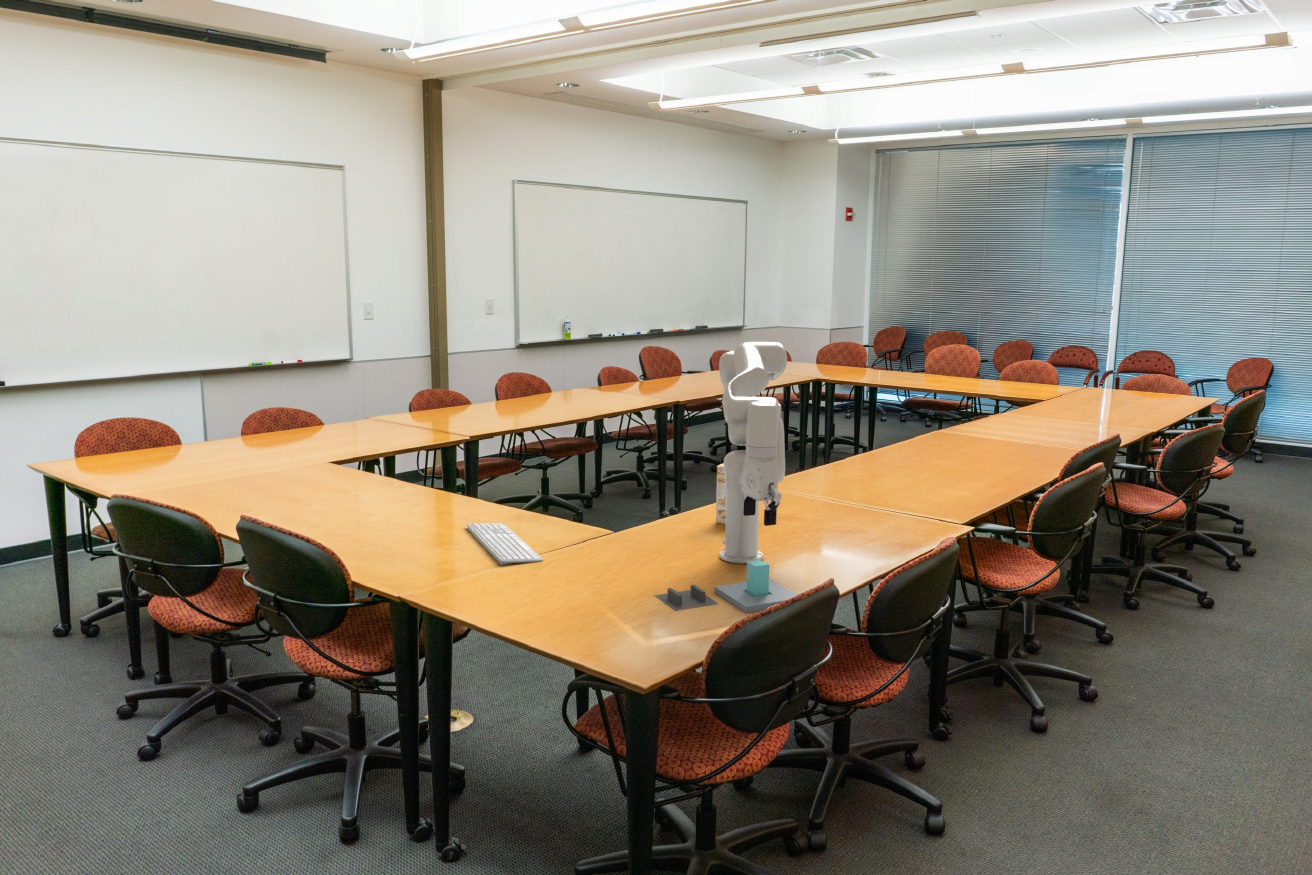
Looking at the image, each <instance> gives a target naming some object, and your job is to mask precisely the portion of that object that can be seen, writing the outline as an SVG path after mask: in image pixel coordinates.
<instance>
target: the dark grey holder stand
mask: <svg viewBox="0 0 1312 875" xmlns="http://www.w3.org/2000/svg"><path fill="white" fill-rule="evenodd" d="M654 597H656V598H657V599H658V600H659V601H661V602H662V603H664V604H665V605H667V606H668V607H669V608H670V609H672V610H673V611H675V612H676V611H683V610H690V609H696V608H702V607H709V606H715V605H720V603H718V601H715V600H714V599H712V598H711V597H709V596H708V595H706V591H705V590H704V589H702V588H701V587H699V586H697V585H696V584H690V589H688V590H683V591H676V590H675V589H673V587H668V588H667V593H661V594H655V595H654Z"/></svg>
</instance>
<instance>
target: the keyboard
mask: <svg viewBox="0 0 1312 875" xmlns="http://www.w3.org/2000/svg"><path fill="white" fill-rule="evenodd" d="M466 526H467V529H468V531H469V532H470V533H471V534H472V535H473V536H474V537H475V538H476V539H477V541H478V542H479V543H480V544H482V547H484V548H485V549H486V550H487V551H488V552H489V553H490V555H491V556H492V557H493V558H495V560H496V561H497V562H498V563H499V564H500V565H501V566H504V565H511V564H513V563H536V562H537V563H540V562H543V561H544V559H543V558H542V557H541V556H540V555H539V554H538V553H537V552H536V550H534V549H533V548H532V547H531V546H530V545H529V544H527V543H526V542H525V541H524V540H523V539H522V538H521V537H519V535H517V534H516V533H515V532H514V531H513V530H512V529H511V528H509V527H508V526H507V525H506V524H505V523H503V522H502V523H501V522H500V523H497V522H496V523H479V522H478V523H475V522H474V523H473V522H472V523H470V522H468V523H466Z"/></svg>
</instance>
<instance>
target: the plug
mask: <svg viewBox="0 0 1312 875" xmlns="http://www.w3.org/2000/svg"><path fill="white" fill-rule="evenodd" d="M769 579H770V563H768V562H765V561H764V560H763V559H762V560H757V561H751V562H747V563H746V582H747V593H748V594H750V595H752V596H753V597H756V596H763V595H769Z"/></svg>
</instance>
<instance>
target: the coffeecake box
mask: <svg viewBox="0 0 1312 875" xmlns="http://www.w3.org/2000/svg"><path fill="white" fill-rule="evenodd" d="M715 492H716V493H715V494H716V495H715V496H716V497H715V498H716V499H715V501H716V502H715V504H716V505H715V523H716V524H718V523H719V524H723V525H726V483H725V474H724V462H723V463H721V464H719V465H716V491H715Z"/></svg>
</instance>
